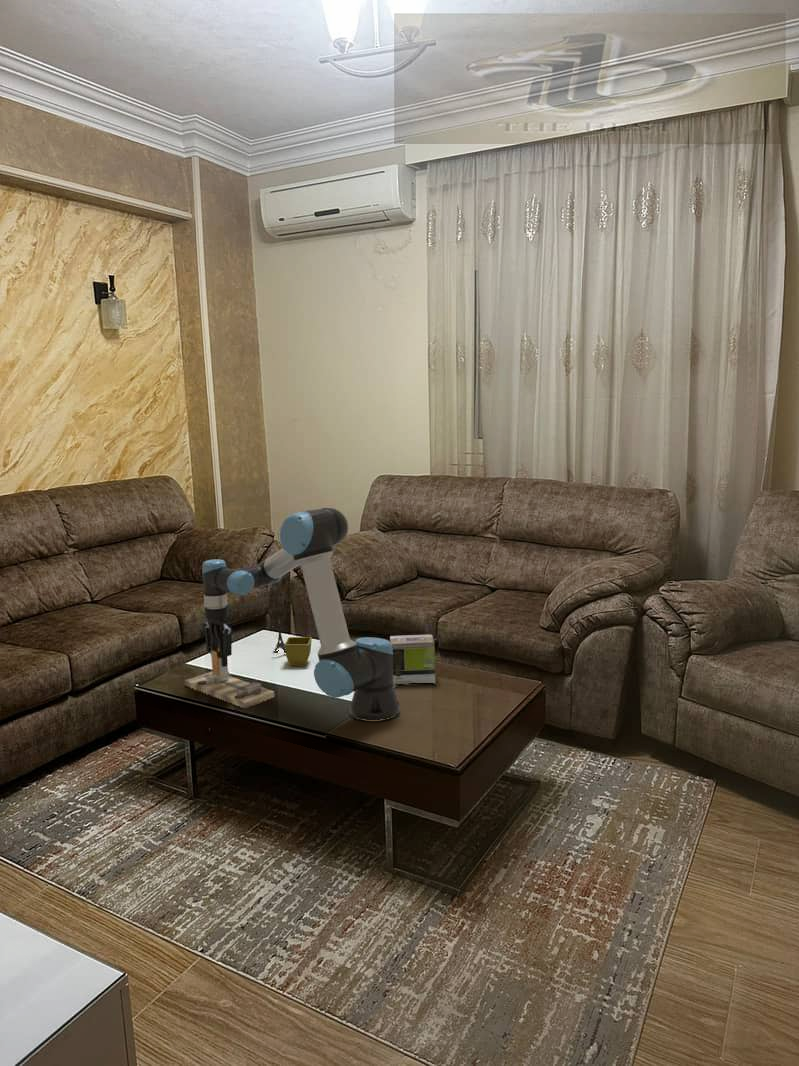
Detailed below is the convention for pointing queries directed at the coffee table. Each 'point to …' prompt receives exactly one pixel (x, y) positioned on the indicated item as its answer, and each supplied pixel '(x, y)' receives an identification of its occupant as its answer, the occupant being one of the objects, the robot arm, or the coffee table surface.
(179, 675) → the coffee table surface
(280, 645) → the eiffel tower figurine
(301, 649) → the flower pot
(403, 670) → the tea box
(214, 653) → the slide leg
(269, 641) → the coffee table surface
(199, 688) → the gauge board
